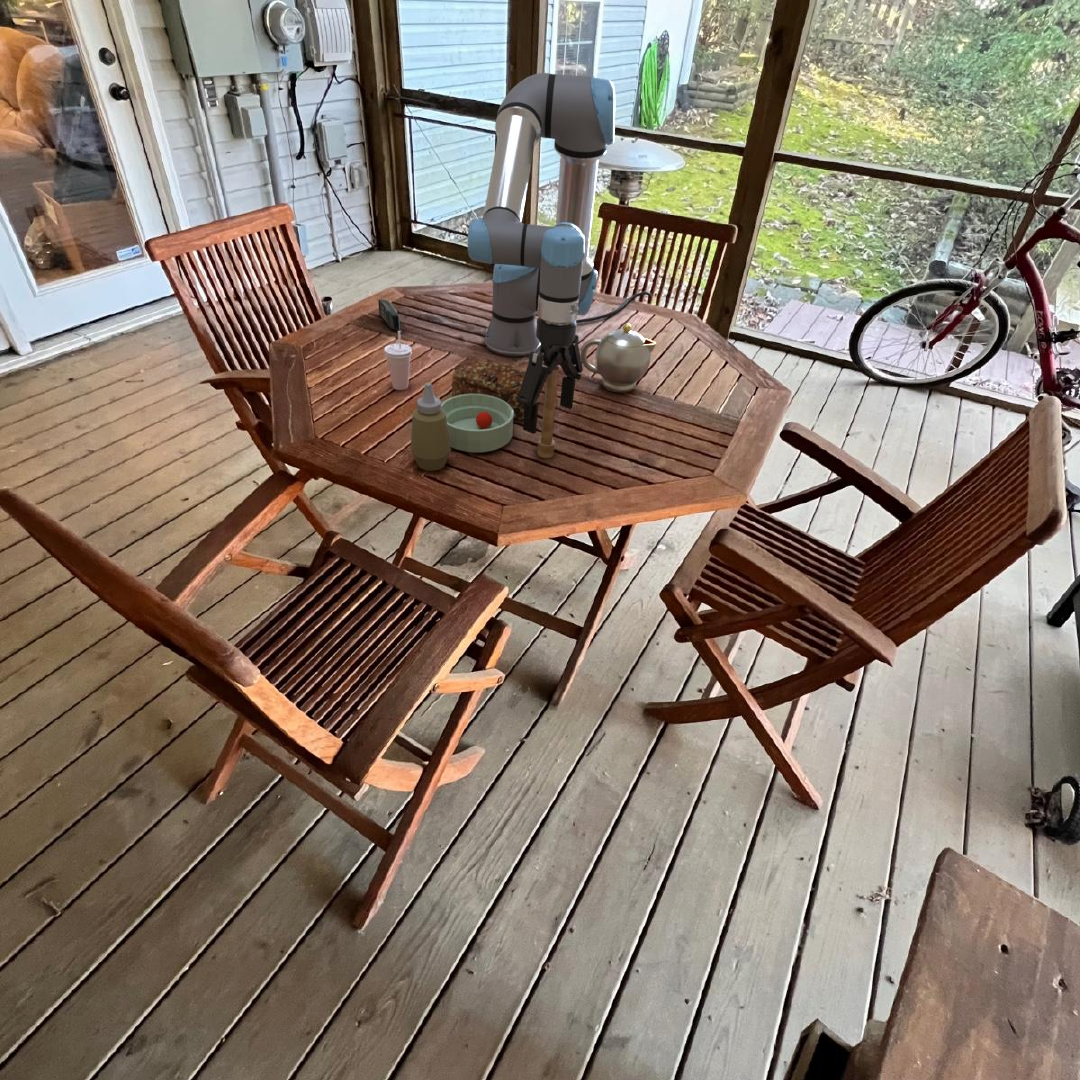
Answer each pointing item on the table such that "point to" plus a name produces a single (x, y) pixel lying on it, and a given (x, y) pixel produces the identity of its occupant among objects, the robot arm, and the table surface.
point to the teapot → (620, 358)
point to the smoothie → (398, 363)
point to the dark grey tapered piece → (389, 315)
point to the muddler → (548, 416)
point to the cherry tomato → (484, 420)
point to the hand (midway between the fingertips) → (548, 418)
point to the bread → (490, 381)
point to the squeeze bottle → (430, 432)
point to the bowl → (466, 429)
